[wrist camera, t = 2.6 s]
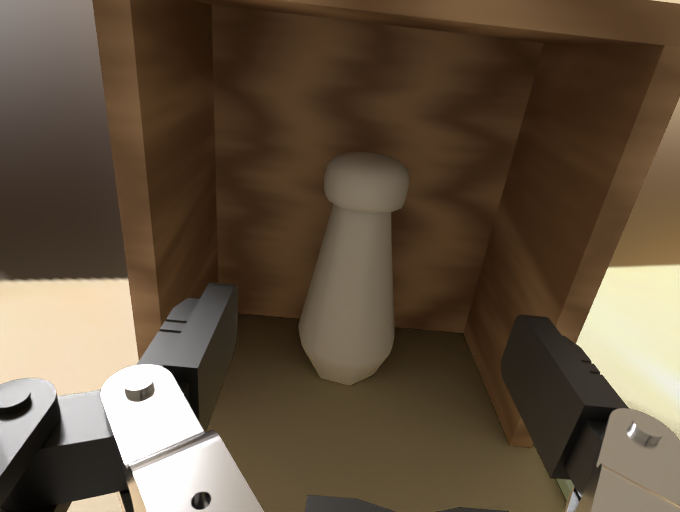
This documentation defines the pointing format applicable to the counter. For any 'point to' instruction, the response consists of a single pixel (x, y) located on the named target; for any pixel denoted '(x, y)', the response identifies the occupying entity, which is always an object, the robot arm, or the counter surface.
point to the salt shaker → (354, 269)
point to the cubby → (386, 150)
